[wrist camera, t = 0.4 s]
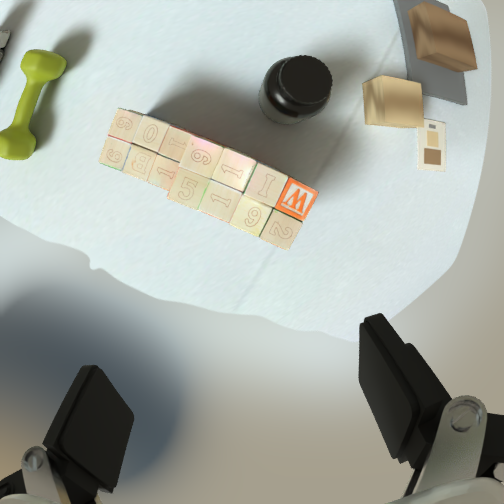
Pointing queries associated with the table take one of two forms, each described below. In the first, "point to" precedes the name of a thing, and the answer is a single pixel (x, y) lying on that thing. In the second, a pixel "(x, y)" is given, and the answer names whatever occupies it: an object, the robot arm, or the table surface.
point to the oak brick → (393, 102)
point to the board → (429, 75)
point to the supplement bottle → (295, 89)
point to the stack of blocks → (209, 176)
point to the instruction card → (431, 146)
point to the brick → (441, 38)
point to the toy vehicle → (3, 41)
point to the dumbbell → (29, 102)
